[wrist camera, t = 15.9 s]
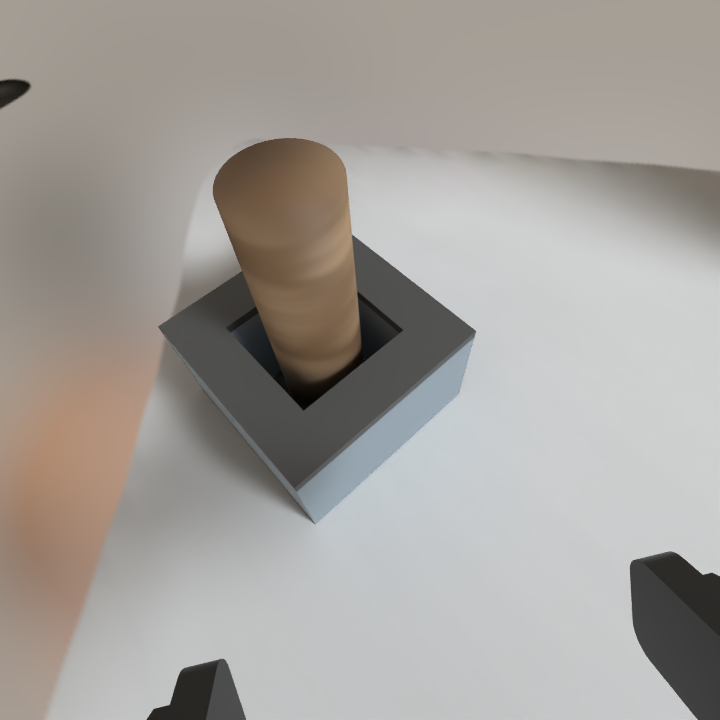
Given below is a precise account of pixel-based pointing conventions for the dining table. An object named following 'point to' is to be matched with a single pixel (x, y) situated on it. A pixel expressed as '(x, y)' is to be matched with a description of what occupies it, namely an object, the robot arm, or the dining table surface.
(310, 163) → the walnut peg
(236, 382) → the collar
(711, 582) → the robot arm
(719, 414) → the dining table surface
